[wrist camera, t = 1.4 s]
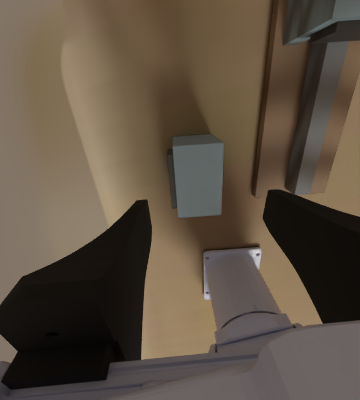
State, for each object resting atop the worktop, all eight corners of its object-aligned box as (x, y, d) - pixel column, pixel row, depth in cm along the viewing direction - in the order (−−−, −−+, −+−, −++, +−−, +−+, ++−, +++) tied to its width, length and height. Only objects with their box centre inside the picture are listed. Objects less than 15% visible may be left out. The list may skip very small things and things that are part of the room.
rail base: (318, 189, 23) (367, 217, 17) (252, 194, 23) (279, 223, 17) (386, -58, 14) (534, -172, 8) (279, -51, 14) (353, -161, 8)
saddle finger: (210, 133, 20) (223, 142, 15) (210, 191, 23) (221, 214, 18) (167, 136, 20) (166, 146, 15) (172, 194, 23) (172, 218, 18)
